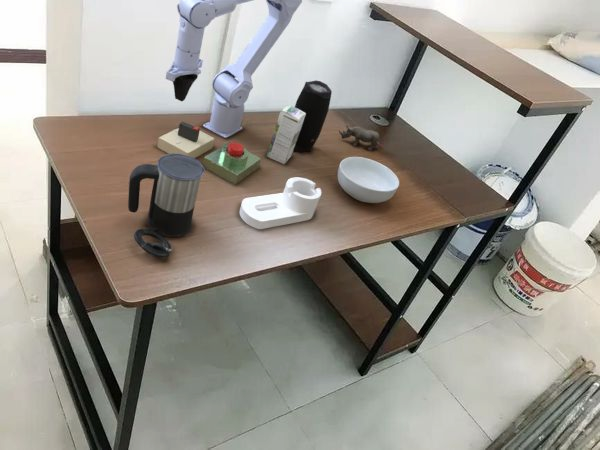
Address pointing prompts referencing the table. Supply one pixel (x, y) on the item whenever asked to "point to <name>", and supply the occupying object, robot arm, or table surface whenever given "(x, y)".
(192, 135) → the block
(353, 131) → the rhino figurine
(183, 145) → the dial panel
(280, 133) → the syrup box
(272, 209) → the bracket
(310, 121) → the portable speaker
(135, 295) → the table surface
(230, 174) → the push button base
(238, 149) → the button
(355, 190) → the cereal bowl
